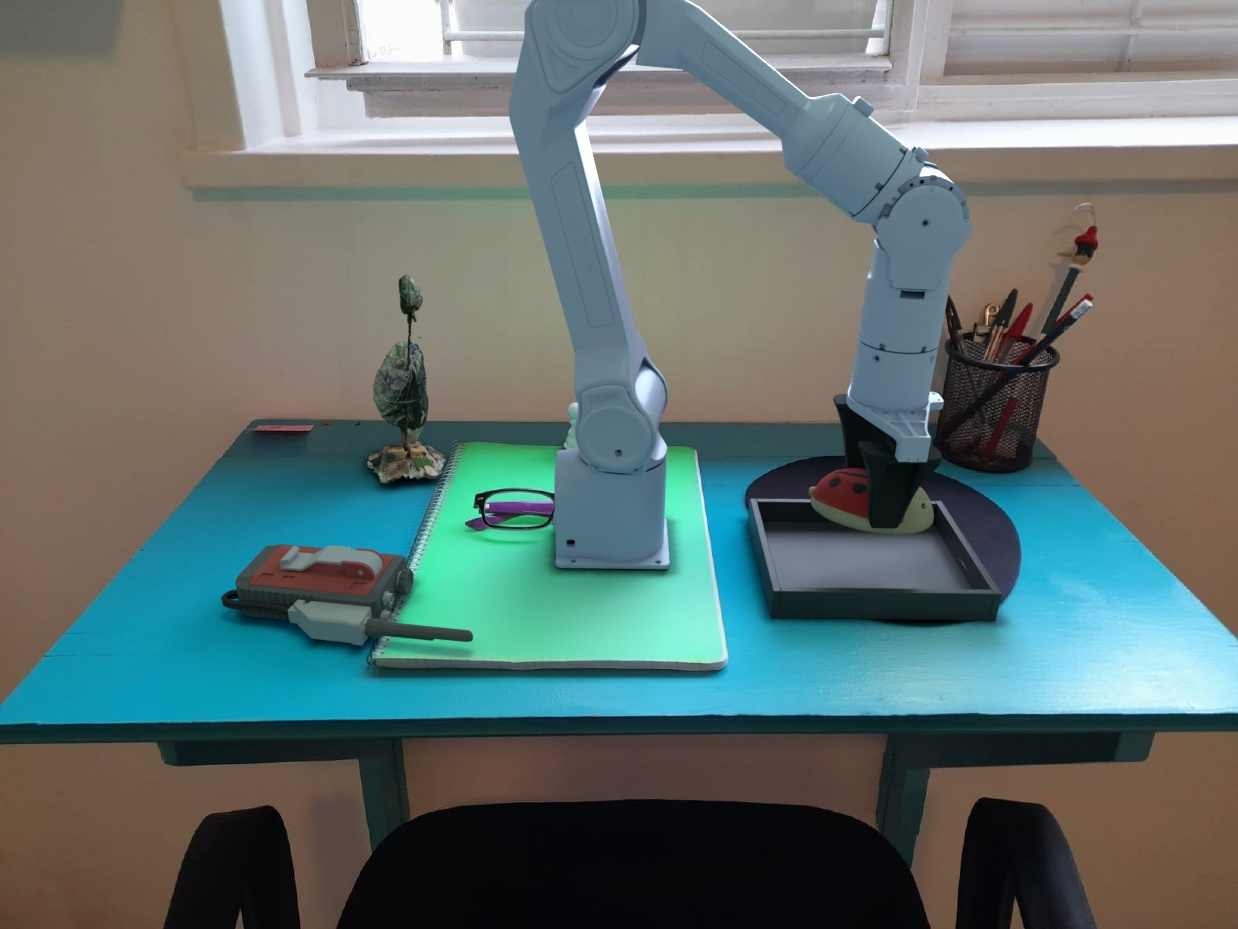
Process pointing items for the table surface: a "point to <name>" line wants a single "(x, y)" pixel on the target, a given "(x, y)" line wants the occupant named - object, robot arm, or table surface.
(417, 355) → the plant with pod
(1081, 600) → the table surface
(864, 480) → the ladybug figurine
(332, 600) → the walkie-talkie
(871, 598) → the tray
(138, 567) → the table surface
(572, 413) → the chess pawn
